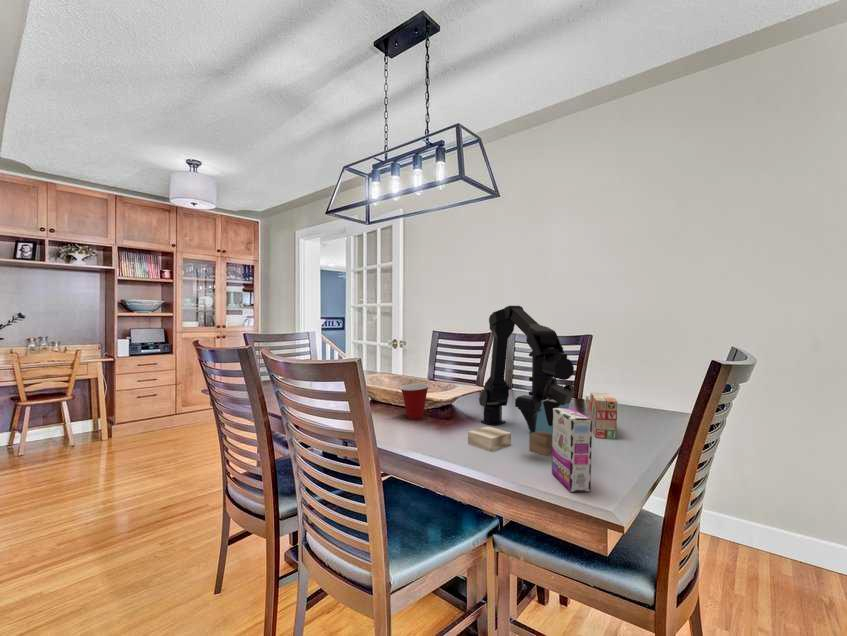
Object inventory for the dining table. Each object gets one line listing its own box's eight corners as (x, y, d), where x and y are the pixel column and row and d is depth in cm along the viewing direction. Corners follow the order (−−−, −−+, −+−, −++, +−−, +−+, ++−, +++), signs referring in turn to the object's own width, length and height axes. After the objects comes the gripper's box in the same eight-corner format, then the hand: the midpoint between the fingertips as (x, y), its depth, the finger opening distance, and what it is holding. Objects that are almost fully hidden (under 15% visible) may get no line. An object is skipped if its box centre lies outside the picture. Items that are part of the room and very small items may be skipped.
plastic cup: (400, 413, 162) (400, 382, 161) (428, 413, 162) (428, 382, 161) (398, 421, 151) (398, 387, 151) (428, 421, 151) (429, 388, 151)
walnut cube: (538, 447, 123) (539, 430, 123) (554, 452, 120) (554, 434, 120) (529, 451, 120) (529, 434, 120) (545, 456, 116) (545, 438, 116)
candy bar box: (592, 492, 93) (593, 418, 93) (570, 493, 93) (571, 419, 92) (570, 472, 104) (571, 406, 104) (550, 473, 104) (551, 407, 103)
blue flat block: (563, 431, 140) (564, 395, 139) (568, 435, 135) (569, 398, 135) (527, 431, 139) (528, 395, 139) (531, 435, 135) (531, 398, 135)
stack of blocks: (585, 420, 153) (586, 387, 153) (604, 422, 152) (604, 387, 151) (595, 438, 132) (596, 399, 132) (617, 440, 131) (617, 400, 131)
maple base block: (487, 438, 132) (487, 426, 132) (510, 446, 125) (511, 432, 125) (467, 444, 126) (468, 431, 126) (491, 452, 120) (491, 438, 119)
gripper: (551, 381, 107) (550, 442, 107) (585, 374, 120) (584, 428, 120) (514, 376, 115) (513, 433, 116) (550, 369, 128) (549, 420, 128)
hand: (541, 428), depth 120 cm, fingers open, 9 cm apart
